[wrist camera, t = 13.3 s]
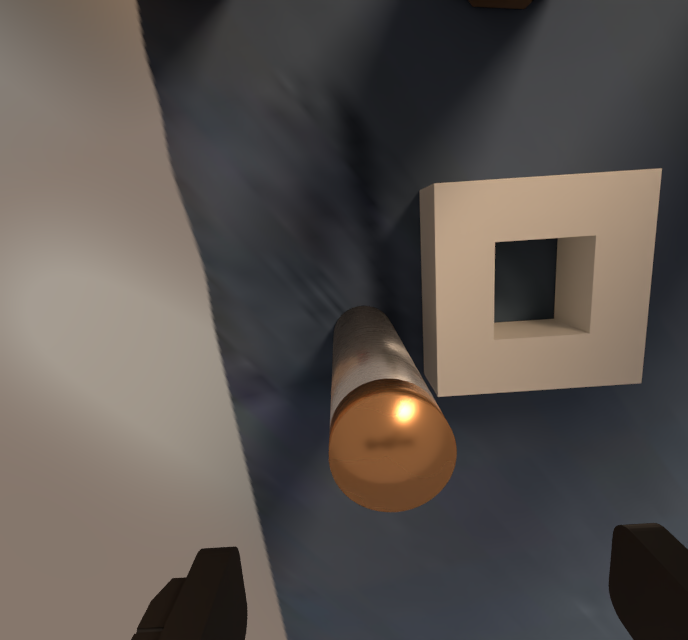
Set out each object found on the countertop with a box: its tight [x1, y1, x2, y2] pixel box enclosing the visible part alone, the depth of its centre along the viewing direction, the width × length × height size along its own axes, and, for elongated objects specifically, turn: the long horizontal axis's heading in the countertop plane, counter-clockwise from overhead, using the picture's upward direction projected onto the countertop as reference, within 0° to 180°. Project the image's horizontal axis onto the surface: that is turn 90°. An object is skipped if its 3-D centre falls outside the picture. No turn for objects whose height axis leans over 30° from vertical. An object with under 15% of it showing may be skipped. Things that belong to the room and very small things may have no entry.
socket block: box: [419, 168, 662, 397], centre depth 25 cm, size 12×12×4 cm
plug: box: [329, 306, 457, 512], centre depth 20 cm, size 4×4×15 cm
